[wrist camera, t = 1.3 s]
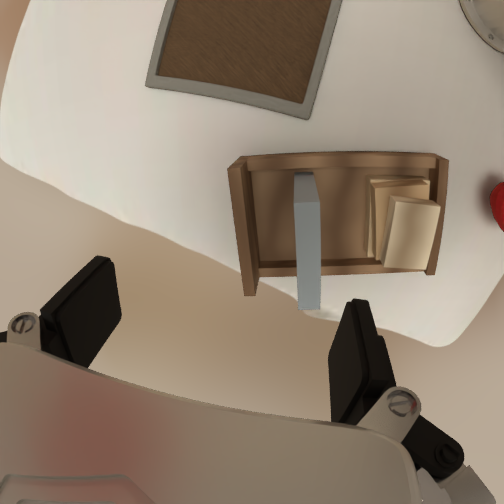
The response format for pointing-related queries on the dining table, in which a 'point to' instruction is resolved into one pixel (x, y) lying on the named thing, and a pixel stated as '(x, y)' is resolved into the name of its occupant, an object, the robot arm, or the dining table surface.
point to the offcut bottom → (368, 203)
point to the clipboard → (245, 51)
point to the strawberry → (498, 204)
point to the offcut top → (409, 232)
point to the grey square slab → (307, 240)
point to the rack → (331, 209)
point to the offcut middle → (381, 204)
